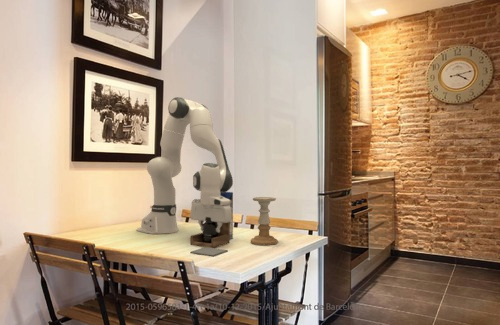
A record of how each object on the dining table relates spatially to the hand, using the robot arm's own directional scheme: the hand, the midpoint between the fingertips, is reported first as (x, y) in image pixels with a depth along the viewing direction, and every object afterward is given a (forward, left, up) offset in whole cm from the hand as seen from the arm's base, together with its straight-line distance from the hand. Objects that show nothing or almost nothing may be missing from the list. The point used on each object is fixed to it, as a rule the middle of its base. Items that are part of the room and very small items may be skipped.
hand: (210, 231), depth 160 cm
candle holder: (+19, +15, -6) cm, 25 cm away
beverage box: (-4, +13, -6) cm, 15 cm away
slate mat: (+9, -13, -6) cm, 17 cm away
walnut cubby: (0, 0, -6) cm, 6 cm away
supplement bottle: (0, 0, -6) cm, 6 cm away
